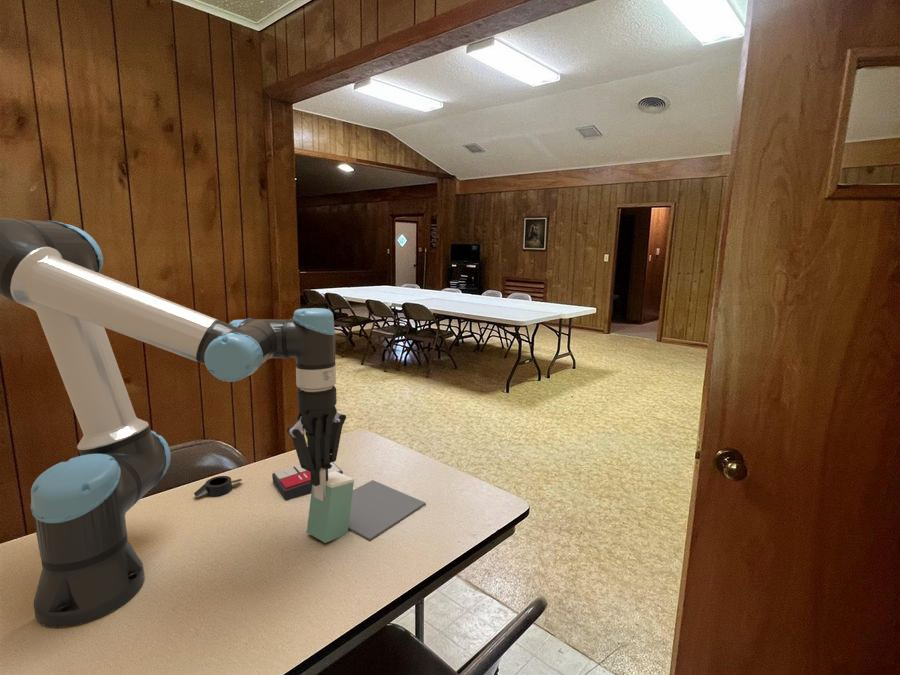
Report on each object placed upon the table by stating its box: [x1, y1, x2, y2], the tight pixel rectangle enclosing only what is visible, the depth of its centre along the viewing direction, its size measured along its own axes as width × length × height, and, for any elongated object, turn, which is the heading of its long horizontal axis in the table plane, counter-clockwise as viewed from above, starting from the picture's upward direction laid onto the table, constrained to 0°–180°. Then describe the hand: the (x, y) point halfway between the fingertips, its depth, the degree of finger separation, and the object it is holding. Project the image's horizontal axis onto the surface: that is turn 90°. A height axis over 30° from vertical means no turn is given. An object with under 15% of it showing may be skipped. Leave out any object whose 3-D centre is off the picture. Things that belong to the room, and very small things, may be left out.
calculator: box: [271, 462, 344, 501], centre depth 120 cm, size 11×4×15 cm
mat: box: [348, 479, 427, 542], centre depth 109 cm, size 18×18×1 cm
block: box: [306, 471, 355, 544], centre depth 99 cm, size 6×6×12 cm
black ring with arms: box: [193, 475, 243, 498], centre depth 116 cm, size 8×10×3 cm
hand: (320, 497), depth 96 cm, fingers closed
